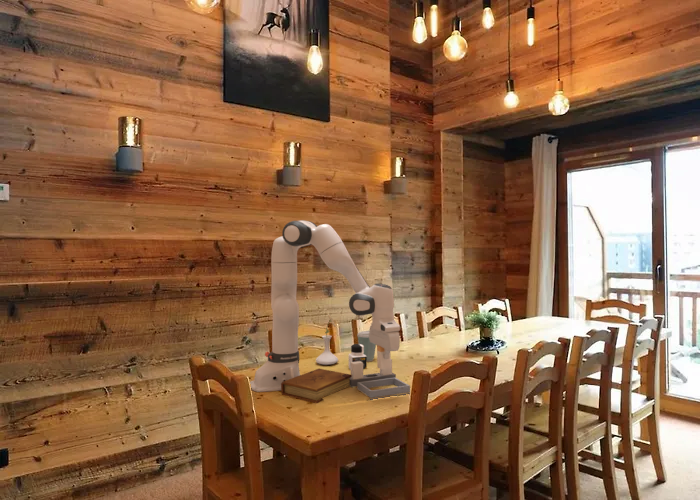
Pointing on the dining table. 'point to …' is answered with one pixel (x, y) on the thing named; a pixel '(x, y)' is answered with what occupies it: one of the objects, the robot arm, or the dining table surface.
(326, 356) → the flower in vase
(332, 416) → the dining table surface
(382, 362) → the marked fuse
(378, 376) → the fuse block
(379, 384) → the tray
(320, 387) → the diary
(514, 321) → the dining table surface
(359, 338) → the disposable coffee cup
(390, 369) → the block
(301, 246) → the robot arm
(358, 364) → the block
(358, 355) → the medicine bottle
